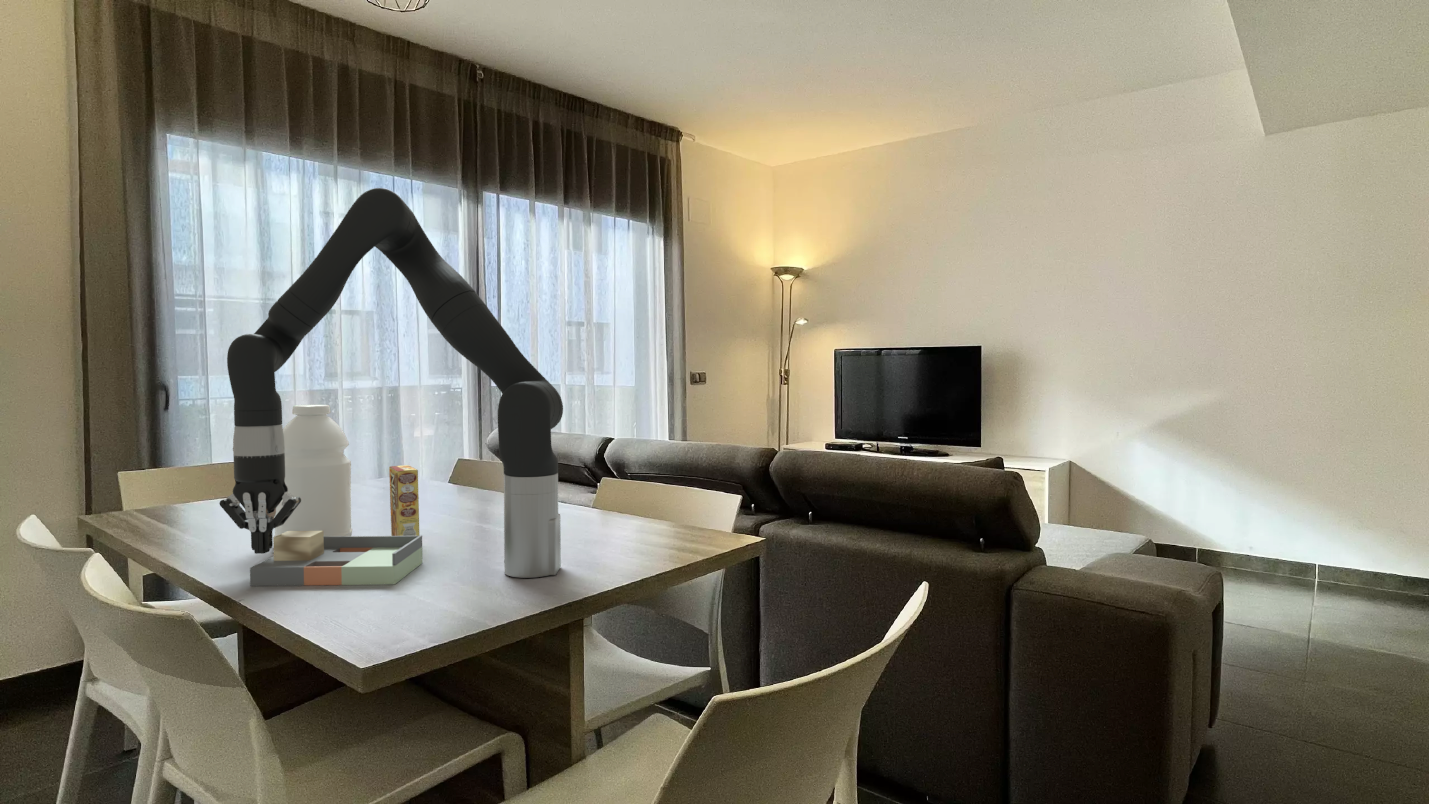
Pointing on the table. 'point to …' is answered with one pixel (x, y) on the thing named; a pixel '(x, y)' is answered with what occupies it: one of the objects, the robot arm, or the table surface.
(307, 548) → the birch block
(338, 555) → the box
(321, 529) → the bottle
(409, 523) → the candy box
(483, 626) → the table surface
